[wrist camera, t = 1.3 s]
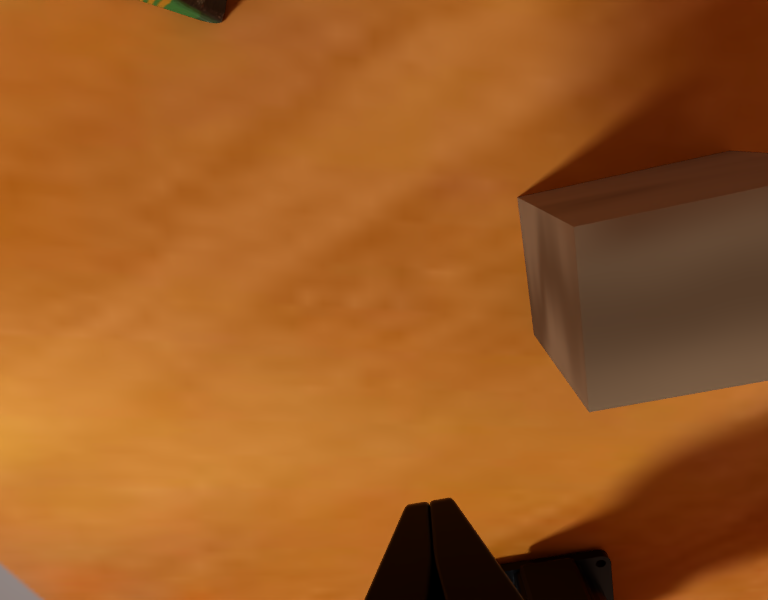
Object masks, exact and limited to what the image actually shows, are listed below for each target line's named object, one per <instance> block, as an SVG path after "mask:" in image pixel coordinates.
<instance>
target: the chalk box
mask: <svg viewBox="0 0 768 600" xmlns="http://www.w3.org/2000/svg"><path fill="white" fill-rule="evenodd" d="M139 1H143V2H146V3H149V4H152V5H155V6H159V7H162V8H165V9H168V10H171V11H174V12H177V13H180V14H183V15H186V16H189V17H192V18H195V19H198V20H202V21H206V22H209V23H220V22H222V19H223V15H224V13H225V8H226V1H227V0H139Z"/></svg>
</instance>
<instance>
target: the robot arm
mask: <svg viewBox="0 0 768 600" xmlns="http://www.w3.org/2000/svg"><path fill="white" fill-rule="evenodd" d="M365 600H614V597H613V584H612V571H611V561H610V559H609V557H608V555H607V553H606V552H605V551H603V550H593V551H586V552H580V553H574V554H567V555H561V556H554V557H548V558H541V559H535V560H528V561H522V562H516V563H509V564H503V565H499V564H498V562H497V561H496V559H495V558H494V557H493V555H492V554H491V552H490V551H489V549H488V548H487V547H486V545H485V544H484V542H483V541H482V540H481V538H480V537H479V535H478V534H477V532H476V531H475V530H474V528H473V527H472V525H471V524H470V523H469V521H468V520H467V518H466V517H465V515H464V514H463V513H462V511H461V510H460V508H459V507H458V506H457V504H456V503H455V501H454V500H453V499H451V498H445V499H439V500H433V501H431V502H430V505H429V504H428V503H427V502H421V503H415V504H409V505H407V506H406V507H405V509H404V511H403V513H402V516H401V518H400V520H399V522H398V525H397V527H396V529H395V531H394V534H393V536H392V538H391V541H390V543H389V545H388V547H387V550H386V552H385V554H384V556H383V559H382V561H381V563H380V565H379V568H378V570H377V572H376V575H375V577H374V579H373V581H372V584H371V586H370V588H369V590H368V593H367V595H366V597H365Z"/></svg>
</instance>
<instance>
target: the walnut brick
mask: <svg viewBox="0 0 768 600" xmlns="http://www.w3.org/2000/svg"><path fill="white" fill-rule="evenodd" d="M517 198H518V206H519V214H520V223H521V231H522V239H523V247H524V256H525V264H526V272H527V280H528V289H529V297H530V305H531V314H532V322H533V330H534V335H535V337H536V338H537V339H538V341H539V342H540V344H541V345H542V346H543V348H544V349H545V351H546V352H547V354H548V355H549V356H550V358H551V359H552V361H553V362H554V363H555V365H556V366H557V368H558V369H559V370H560V372H561V373H562V375H563V376H564V377H565V379H566V380H567V382H568V383H569V385H570V386H571V387H572V389H573V390H574V392H575V393H576V394H577V396H578V397H579V399H580V400H581V401H582V403H583V404H584V406H585V407H586V408H587V410H588V411H589V412H593V411H598V410H604V409H610V408H615V407H621V406H626V405H632V404H638V403H643V402H649V401H655V400H660V399H666V398H672V397H677V396H683V395H689V394H694V393H700V392H706V391H711V390H717V389H723V388H728V387H734V386H739V385H745V384H751V383H756V382H762V381H768V153H758V152H742V151H727V152H723V153H718V154H713V155H709V156H704V157H700V158H695V159H691V160H686V161H681V162H677V163H672V164H668V165H663V166H658V167H654V168H649V169H645V170H640V171H636V172H631V173H626V174H622V175H617V176H613V177H608V178H603V179H599V180H594V181H590V182H585V183H581V184H576V185H571V186H567V187H562V188H558V189H553V190H549V191H544V192H539V193H535V194H530V195H526V196H521V197H517Z"/></svg>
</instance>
